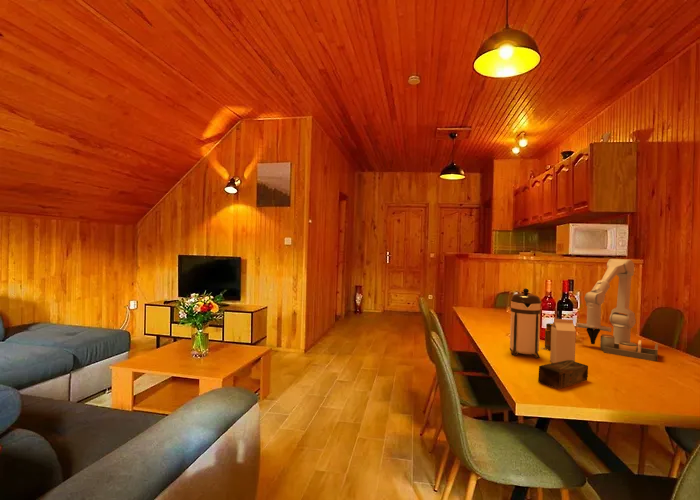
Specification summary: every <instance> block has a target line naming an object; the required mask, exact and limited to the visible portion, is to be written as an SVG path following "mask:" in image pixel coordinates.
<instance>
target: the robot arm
mask: <svg viewBox="0 0 700 500" xmlns="http://www.w3.org/2000/svg"><path fill="white" fill-rule="evenodd" d="M634 273H635V263H634V261H633V260H632V259H626V258H625V259H623V258H619V259H618V258H610V259H608V261H607V263H606V270H605V272H604V275H603V276H602V278H601V279H600V280H597V282H596V283H595V284H594V286H593V287H592V289H591V290H590V291H588V292H586V293H585V296H584V301H585V306H586V323H581V322H577V323H575V328H581V329H582V328H583V329H586V332H587V334H588V337H589V340H590V345H595V344H596V340H597V338H598V335H599V333H600V332H601V331H603V332H609V333H612V331H613V334H612V336H614V337H615V343H616V344H619V342H620V341H626V342H631V335H632V334H631V333H632V332H631V330H632V328H634V327H635V325H636V315H635V311H632V310H631V309H630V302H631V301H630V299H631V287H632V278H633V277H632V276H634ZM616 276H617V278H618V286H617V287H618V288H617V297H616V298H617V299H616V300H617V301H616V307H614V308H613V309H611V312H610V314H609V322H610V324H611V326H613V329H612V327H611V326H605V325H601V319H602V318H601V317H602V305H603V303H605V298H606V294H607V292H608V291H609V289H610V288H611V286H610V283H611V282H612V281H613V279H614V278H615V277H616Z"/></svg>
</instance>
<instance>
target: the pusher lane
mask: <svg viewBox="0 0 700 500" xmlns="http://www.w3.org/2000/svg"><path fill="white" fill-rule="evenodd" d="M658 350H659V344H657V343H655V344H654V349H653V348H647V347H642V346H641V353H640V352H638V346H637V352H633V351H627V350H621V349H619V344H616V343H615V348H608V347H604V351H603V353H604V354H605V353H606V354H610V355H616V356H622V357H628V358H633V359H634V358H635V359H640V360H645V361H652V362H658V353H659V351H658Z"/></svg>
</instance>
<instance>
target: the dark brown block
mask: <svg viewBox="0 0 700 500" xmlns="http://www.w3.org/2000/svg"><path fill="white" fill-rule="evenodd" d="M588 375H589V365H586V364H585V363H580V362H576V360H575V361H574V360H566V361H561V362H556V363H552V362H551V363H545V364H541V365H539V366H538V380H537V381H538V383H541V384H543V385H545V386H548V387H550V388H551V387H552V388H553V389H557V390H558V389H562V388H563V389H564V388H565V387H566V388H567V387H570V386H573V385H577V384H580V383H584V382H587V381H588V377H589V376H588Z"/></svg>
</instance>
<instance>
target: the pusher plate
mask: <svg viewBox="0 0 700 500" xmlns="http://www.w3.org/2000/svg"><path fill="white" fill-rule="evenodd" d="M642 342H643V341H642V340H640V339H638V342H637V347H638V352H640V353H641V347H642Z"/></svg>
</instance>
